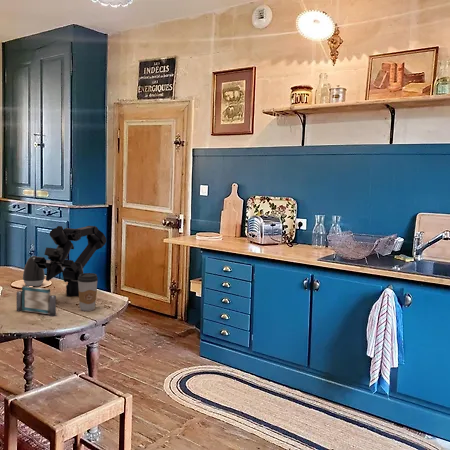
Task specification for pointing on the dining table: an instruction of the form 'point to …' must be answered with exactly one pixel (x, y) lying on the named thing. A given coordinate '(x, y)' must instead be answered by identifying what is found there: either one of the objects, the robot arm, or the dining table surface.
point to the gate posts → (52, 303)
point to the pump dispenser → (33, 273)
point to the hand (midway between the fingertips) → (47, 280)
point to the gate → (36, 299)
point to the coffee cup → (87, 291)
